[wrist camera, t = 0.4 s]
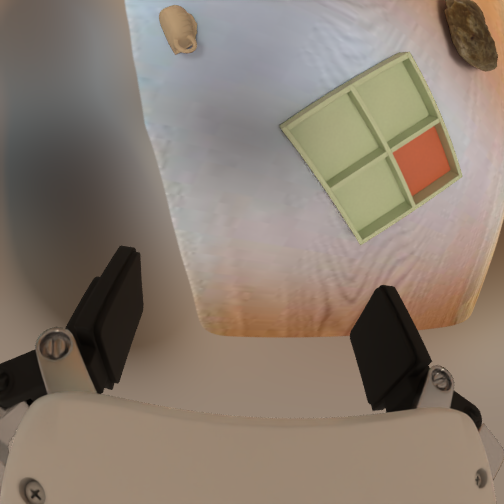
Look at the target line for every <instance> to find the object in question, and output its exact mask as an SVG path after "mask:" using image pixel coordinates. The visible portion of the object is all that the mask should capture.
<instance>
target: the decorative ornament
mask: <svg viewBox="0 0 504 504" xmlns="http://www.w3.org/2000/svg"><path fill="white" fill-rule="evenodd" d="M159 20H160V24H161V27H162V29H163V31H164V34H165V36H166V38H167V41H168V43H169V45H170V47H171V48H172V50H173V52H174V53H175V55H176V54H178V53H180V52H182V53H191V52H193V51H195V50H196V48H197V42H196V40H195V39H196V34H197V23H196V22H195V20H194V18H193V16H192V15H191V14H189V13H187V12H186V10H185V9H184V8H182V7H181V6H178V5H172V6H169V7H167V8H165V9H163V10H162V11H161V12H160V14H159ZM192 44H193V46H192V48H191V49H187V48H188V47H190V46H191V45H192Z"/></svg>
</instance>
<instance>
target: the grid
mask: <svg viewBox="0 0 504 504" xmlns="http://www.w3.org/2000/svg"><path fill="white" fill-rule="evenodd" d="M280 128H281V129H282V131H283V132H284V133H285V135H286V136H287V137H288V139H289V140H290V141H291V143H292V144H293V145H294V147H295V148H296V149H297V151H298V152H299V153H300V155H301V156H302V157H303V159H304V160H305V162H306V163H307V164H308V166H309V167H310V169H311V170H312V171H313V173H314V174H315V176H316V177H317V179H318V180H319V181H320V183H321V184H322V186H323V187H324V189H325V190H326V192H327V193H328V195H329V196H330V198H331V199H332V201H333V202H334V204H335V205H336V207H337V208H338V210H339V211H340V213H341V215H342V216H343V218H344V219H345V221H346V222H347V224H348V226H349V227H350V229H351V230H352V232H353V234H354V235H355V237H356V239H357V240H358V242H359V244H360V245H362V244H363V243H365V242H366V241H368V240H370V239H371V238H373V237H374V236H376V235H377V234H379V233H381V232H382V231H384V230H385V229H387V228H388V227H390V226H391V225H393V224H394V223H396V222H397V221H399V220H401V219H402V218H404V217H405V216H407V215H408V214H410V213H411V212H413V211H414V210H415V209H417V208H418V207H420V206H421V205H423V204H424V203H426V202H427V201H429V200H430V199H432V198H433V197H435V196H436V195H437V194H439V193H440V192H442V191H443V190H445V189H446V188H447V187H449V186H450V185H452V184H453V183H454V182H456V181H457V180H459V179H460V178H461V177H462V173H461V169H460V166H459V163H458V160H457V157H456V154H455V151H454V148H453V145H452V142H451V139H450V136H449V134H448V131H447V129H446V126H445V123H444V121H443V118H442V116H441V114H440V111H439V109H438V107H437V104H436V102H435V100H434V98H433V96H432V93H431V91H430V89H429V87H428V85H427V83H426V81H425V79H424V77H423V75H422V73H421V72H420V70H419V68H418V66H417V64H416V62H415V61H414V59H413V57H412V55H411V54H410V52H402V53H398V54H396V55H394V56H392V57H390V58H388V59H386V60H384V61H382V62H381V63H379V64H377V65H375V66H373V67H372V68H370V69H368V70H366V71H365V72H363V73H361V74H359V75H358V76H356V77H354V78H353V79H351V80H349V81H347V82H346V83H344V84H342V85H341V86H339V87H338V88H336V89H334V90H333V91H331V92H329V93H328V94H326V95H325V96H323V97H322V98H320V99H318V100H317V101H315V102H314V103H312V104H311V105H309V106H308V107H306V108H305V109H303V110H302V111H300V112H299V113H297V114H296V115H294V116H293V117H291V118H290V119H288V120H287V121H285V122H284V123H282V124H281V125H280Z"/></svg>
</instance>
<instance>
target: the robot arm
mask: <svg viewBox="0 0 504 504" xmlns="http://www.w3.org/2000/svg"><path fill="white" fill-rule="evenodd" d="M142 312H143V294H142V281H141V261H140V253H138V252H136V249H135V248H132V247H126V246H120V247H119V248H118V250H117V251H116V253H115V254H114V256H113V257H112V259H111V261H110V262H109V264H108V265H107V267H106V269H105V270H104V272H103V274H102V275H101V277H95V278H94V279H93V281H92V282H91V284H90V285H89V287H88V289H87V291H86V292H85V294H84V296H83V297H82V299H81V301H80V303H79V304H78V306H77V308H76V310H75V311H74V313H73V315H72V317H71V319H70V321H69V322H68V324H67V326H66V328H65V329H64V328H61V327H54V328H50V329H47V330H46V331H44V332H43V333H42V334H40V336H39V337H38V339H37V341H36V345H35V350H33V351H30V352H28V353H26V354H23V355H21V356H18V357H16V358H14V359H11V360H8V361H6V362H4V363H1V364H0V504H497V502H496V495H495V490H494V485H493V480H494V478H495V477H496V475H497V473H498V471H499V468H500V467H501V464H502V463H503V460H504V449H503V447H502V446H501V444H500V443H499V442H498V441H497V439H496V438H495V437H494V436H493V434H492V433H491V432H490V430H489V429H488V428H487V427H486V426H485V424H482V418H481V414H480V411H479V410H478V408H477V407H476V406H475V405H473V404H472V403H470V402H469V401H468V400H466V399H465V398H464V397H462V396H461V395H459V394H458V393H457V392H455V391H454V380H453V377H452V375H451V374H450V373H449V371H448V370H446V369H445V368H444V367H442V366H438V365H436V366H432V367H431V368H429V366H428V365H429V364H430V363H431V362H432V360H431V358H430V356H429V354H428V351H427V349H426V347H425V345H424V343H423V341H422V339H421V337H420V335H419V333H418V331H417V328H416V326H415V324H414V323H413V321H412V319H411V317H410V315H409V313H408V311H407V309H406V307H405V305H404V303H403V301H402V300H401V298H400V296H399V294H398V292H397V290H396V289H395V287H393V286H386V285H381V286H380V287H379V288H377V289H375V291H374V293H373V295H372V296H371V298H370V300H369V302H368V303H367V305H366V307H365V309H364V310H363V312H362V314H361V315H360V317H359V319H358V320H357V322H356V324H355V325H354V327H353V329H352V330H351V333H350V340H351V343H352V346H353V350H354V353H355V357H356V360H357V364H358V367H359V370H360V374H361V378H362V381H363V385H364V389H365V392H366V396H367V400H368V403H369V404H371V406H372V410H373V411H375V410H383V409H384V408H386V413H380V414H371V415H360V416H348V417H332V418H262V417H244V416H232V415H221V414H212V413H204V412H196V411H189V410H183V409H177V408H170V407H165V406H159V405H153V404H148V403H143V402H139V401H134V400H129V399H124V398H119V397H114V396H109V395H103V394H101V393H103V390H104V388H107V389H111V390H112V389H113V386H114V383H119V381H120V378H121V375H122V371H123V369H124V365H125V362H126V359H127V356H128V353H129V350H130V347H131V344H132V341H133V338H134V335H135V332H136V329H137V326H138V324H139V320H140V318H141V315H142ZM481 424H482V425H481ZM16 430H17V431H16ZM13 436H14V439H13V442H12V445H11V449H10V452H9V449H8V446H9V442H10V440H11V439H12V437H13Z"/></svg>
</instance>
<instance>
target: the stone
mask: <svg viewBox="0 0 504 504" xmlns="http://www.w3.org/2000/svg"><path fill="white" fill-rule="evenodd" d="M445 1H446V6H447V9H446V10H444V12H445V15H446V19H447V22H448V24H449V28H450V33H451V37H452V42H453V43H454V45H455V46H456V49H457V51H458V53H459V55H460V56H461V57H463V58H464V60H465V61H466V62H468V63H469V64H470V65H472V66H475V67H476V68H478V69H481V70H483V71H491V70H493V69H495V68H496V67H497V58H498V54H497V52H496V48H495V42H494V40H493V39H492V37H491V35H490V32H489V31H488V27H487V25H486V24H485V18H484V15H483V12H482V11H481V9H480V8H479V6H478V5H477V4H476V3H475V2H473V1H470V0H445Z"/></svg>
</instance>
